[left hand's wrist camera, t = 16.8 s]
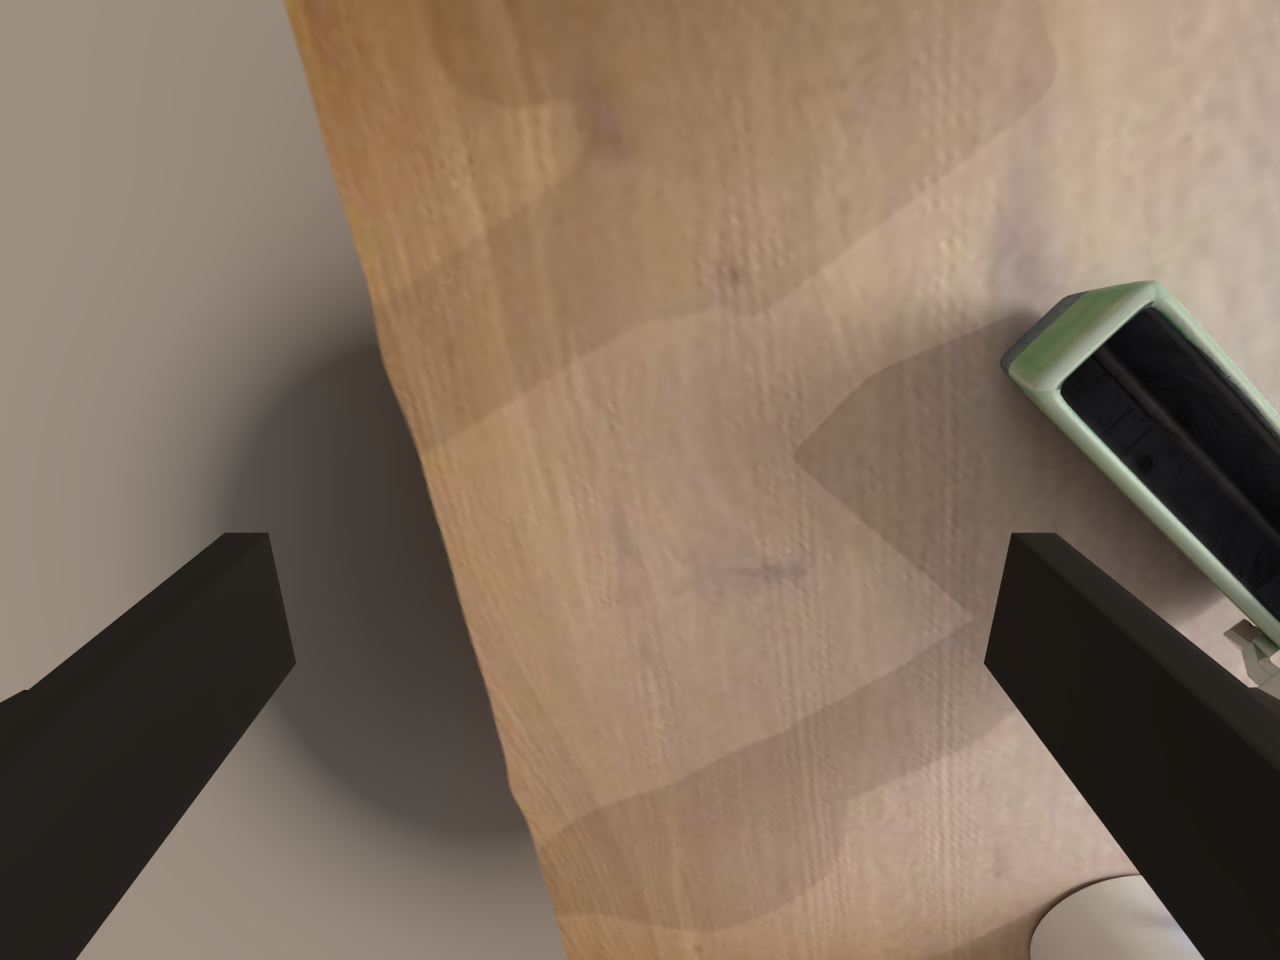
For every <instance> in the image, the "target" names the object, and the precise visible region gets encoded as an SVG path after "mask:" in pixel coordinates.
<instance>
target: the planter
mask: <svg viewBox="0 0 1280 960" xmlns="http://www.w3.org/2000/svg"><path fill="white" fill-rule="evenodd" d="M1000 366H1001V367H1002V369H1003V370H1004V372H1005V373H1006V374H1007V375H1008V377H1009V378H1010V379H1011V380H1012V381H1013V382H1014V383H1015V384H1016V385H1017V386H1018V387H1019V389H1020V390H1021V391H1022V392H1023V393H1024V394H1025V395H1026V396H1027V397H1028V398H1029V399H1030V400H1031V401H1032V402H1033V403H1034V404H1035V405H1036V406H1037V407H1038V408H1039V409H1040V410H1041V411H1042V412H1043V413H1044V414H1045V415H1046V416H1047V417H1048V418H1049V419H1050V420H1051V421H1052V422H1053V423H1054V424H1055V425H1056V426H1057V427H1058V428H1059V429H1060V430H1061V431H1062V432H1063V433H1064V434H1065V435H1066V436H1067V437H1068V438H1069V439H1070V440H1071V441H1072V442H1073V443H1074V444H1075V445H1076V446H1077V447H1078V448H1079V449H1080V450H1081V451H1082V452H1083V453H1084V454H1085V455H1086V456H1087V457H1088V459H1089V460H1090V461H1091V462H1092V463H1093V464H1094V465H1095V466H1096V467H1097V468H1098V469H1099V470H1100V471H1101V472H1102V473H1103V474H1104V475H1105V476H1106V477H1107V478H1108V479H1109V480H1110V481H1111V482H1112V483H1113V484H1114V485H1115V486H1116V487H1117V488H1118V489H1119V490H1120V491H1121V492H1122V493H1123V494H1124V495H1125V496H1126V497H1127V498H1128V499H1129V500H1130V501H1131V502H1132V503H1133V504H1134V505H1135V506H1136V507H1137V508H1138V509H1139V510H1140V511H1141V512H1142V513H1143V514H1144V515H1145V516H1146V517H1147V518H1148V519H1149V520H1150V521H1151V522H1152V523H1153V524H1154V525H1155V526H1156V527H1157V528H1158V529H1159V530H1160V531H1161V532H1162V533H1163V534H1164V535H1165V536H1166V537H1167V538H1168V539H1169V540H1170V541H1171V542H1172V543H1173V544H1174V545H1175V546H1176V547H1177V548H1178V549H1179V550H1180V551H1181V552H1182V553H1183V554H1184V555H1185V556H1186V557H1187V558H1188V559H1189V560H1190V561H1191V562H1192V563H1193V564H1194V565H1195V566H1196V567H1197V568H1198V569H1199V570H1200V571H1201V572H1202V573H1203V574H1204V575H1205V576H1206V577H1207V578H1208V579H1209V580H1210V581H1211V582H1212V583H1213V584H1214V585H1215V586H1216V587H1217V588H1218V589H1219V590H1220V591H1221V592H1222V593H1223V594H1224V595H1226V596H1227V597H1228V598H1229V599H1230V600H1231V601H1232V602H1233V603H1234V604H1235V605H1236V606H1237V607H1238V608H1239V609H1240V610H1241V611H1242V612H1243V613H1244V614H1245V615H1246V616H1247V617H1248V618H1249V619H1250V620H1251V621H1252V622H1253V623H1254V624H1255V625H1256V626H1257V627H1258V628H1259V629H1260V630H1261V631H1262V632H1263V633H1265V634H1266V635H1267V636H1268V637H1269V638H1270V639H1271V640H1272V641H1273V642H1274V643H1275V644H1276V645H1277V646H1278V647H1279V648H1280V415H1279V414H1278V413H1277V411H1276V410H1275V409H1274V408H1273V407H1272V406H1271V405H1270V403H1269V402H1268V401H1267V400H1266V399H1265V398H1264V397H1263V395H1262V394H1261V393H1260V392H1259V391H1258V390H1257V389H1256V387H1255V386H1254V385H1253V384H1252V383H1251V382H1250V381H1249V379H1248V378H1247V377H1246V376H1245V375H1244V374H1243V373H1242V371H1241V370H1240V369H1239V368H1238V367H1237V366H1236V365H1235V364H1234V362H1233V361H1232V360H1231V359H1230V358H1229V357H1228V356H1227V354H1226V353H1225V352H1224V351H1223V350H1222V349H1221V348H1220V346H1219V345H1218V344H1217V343H1216V342H1215V341H1214V340H1213V338H1212V337H1211V336H1210V335H1209V334H1208V333H1207V332H1206V331H1205V329H1204V328H1203V327H1202V326H1201V325H1200V324H1199V323H1198V322H1197V320H1196V319H1195V318H1194V317H1193V316H1192V315H1191V314H1190V313H1189V311H1188V310H1187V309H1186V308H1185V307H1184V306H1183V305H1182V304H1181V303H1180V302H1179V301H1178V300H1177V298H1176V297H1175V296H1174V295H1173V294H1172V293H1171V292H1170V291H1169V290H1168V289H1167V288H1166V287H1164V286H1163V285H1162V284H1160V283H1159V282H1157V281H1138V282H1132V283H1126V284H1120V285H1115V286H1110V287H1105V288H1100V289H1095V290H1090V291H1086V292H1081V293H1077V294H1073V295H1069V296H1067V297H1065V298H1063V299H1062V300H1061V301H1059V302H1058V303H1057V304H1056V305H1055V306H1054V307H1053V308H1052V309H1051V310H1050V311H1049V312H1048V313H1047V314H1046V315H1044V316H1043V317H1042V318H1041V319H1040V320H1039V321H1038V322H1037V323H1036V324H1035V325H1034V326H1033V327H1032V328H1031V329H1030V330H1029V331H1028V332H1027V333H1026V334H1025V335H1023V336H1022V337H1021V338H1020V339H1019V340H1018V341H1017V342H1016V343H1015V344H1014V345H1013V346H1012V347H1011V348H1010V349H1009V350H1008V351H1007V352H1006V353H1005V354H1004V355H1003V356H1002V358H1001V360H1000Z"/></svg>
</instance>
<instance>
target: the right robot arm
mask: <svg viewBox="0 0 1280 960" xmlns="http://www.w3.org/2000/svg"><path fill="white" fill-rule="evenodd" d="M1223 635H1224V636H1225V637H1226V638H1227V639H1228V640H1229V641H1230V642H1231V643H1232V644H1234V645H1235V646H1236V647H1237V648H1238V649H1239V650H1240V651H1242V655H1243V659H1244V662H1245V666H1246V670H1247V674H1248V677H1249V678H1250V679H1251V680H1253V681H1254V682H1255V683H1256V684H1257V685H1258V687H1257V688H1259V689H1261V690H1262V691H1264V692H1266V693H1268V694H1270V695H1272V696H1274V697H1276V698H1278V699H1280V668H1278V667H1277V666H1276V665H1274V664H1273V663H1271V661H1270V658H1269V657H1271V656H1272V655H1273V654H1275V653H1276V652H1277V651H1279V650H1280V648H1279V647H1278V646H1277V645H1276V644H1275V643H1274V642H1273V641H1271V639H1270V638H1269V637H1268V636H1267V635H1266V634H1265V633H1263V632H1262V631H1261V630H1260V629H1259V628H1257V627H1256V626H1253V625H1252V624H1251V623H1250V622H1248V621H1247V620H1245V619H1243V620H1242V621H1240V622H1239V623H1237V624H1236V625H1235V626H1233V627H1232V628H1230V629H1229V630H1228V631H1226V632H1225V633H1223ZM1030 958H1031V960H1204V959H1203V957H1202V956H1201V955H1200V953H1199V952H1198V951H1197V949H1196V948H1195V946H1194V945H1193V944H1192V942H1191V941H1190V940H1189V938H1188V937H1187V936H1186V934H1185V933H1184V932H1183V930H1182V929H1181V928H1180V926H1179V925H1178V924H1177V922H1176V921H1175V920H1174V918H1173V917H1172V916H1171V914H1170V913H1169V912H1168V910H1167V909H1166V907H1165V906H1164V905H1163V903H1162V902H1161V901H1160V899H1159V898H1158V897H1157V895H1156V894H1155V893H1154V891H1153V890H1152V889H1151V887H1150V886H1149V885H1148V883H1147V882H1146V881H1145V879H1144V878H1143V877H1142V875H1134V876H1125V877H1119V878H1114V879H1110V880H1106V881H1102V882H1099V883H1096V884H1093V885H1091V886H1088V887H1086V888H1084V889H1082V890H1079V891H1078V892H1076V893H1074V894H1072V895H1070V896H1069V897H1067V898H1066V899H1064V900H1063V901H1061V902H1060V903H1059V904H1057V905H1056V906H1055V907H1054V908H1053V909H1052V910H1050V911H1049V912H1048V913H1047V915H1046V916H1045V917H1044V918H1043V919H1042V920H1041V922H1040V923H1039V925H1038V926H1037V928H1036V930H1035V932H1034V934H1033V937H1032V940H1031V944H1030Z"/></svg>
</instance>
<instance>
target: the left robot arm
mask: <svg viewBox="0 0 1280 960" xmlns="http://www.w3.org/2000/svg"><path fill="white" fill-rule="evenodd" d="M295 664H296V660H295V656H294V651H293V646H292V642H291V637H290V632H289V628H288V623H287V618H286V614H285V609H284V604H283V599H282V595H281V590H280V586H279V581H278V576H277V571H276V567H275V562H274V557H273V553H272V548H271V543H270V538H269V534H268V533H224V534H223V535H222V536H220V537H219V538H218V539H217V540H215V541H214V542H213V543H212V544H210V545H209V546H208V547H207V548H205V549H204V550H203V551H202V552H200V553H199V554H198V555H197V556H195V557H194V558H193V559H192V560H190V561H189V562H188V563H187V564H185V565H184V566H183V567H182V568H180V569H179V570H178V571H177V572H175V573H174V574H173V575H172V576H170V577H169V578H168V579H167V580H165V581H164V582H163V583H162V584H160V585H159V586H158V587H157V588H155V589H154V590H153V591H152V592H150V593H149V594H148V595H147V596H145V597H144V598H143V599H142V600H140V601H139V602H138V603H137V604H135V605H134V606H133V607H132V608H130V609H129V610H128V611H127V612H125V613H124V614H123V615H122V616H120V617H119V618H118V619H117V620H115V621H114V622H113V623H112V624H110V625H109V626H108V627H107V628H105V629H104V630H103V631H102V632H100V633H99V634H98V635H97V636H95V637H94V638H93V639H92V640H90V641H89V642H88V643H87V644H85V645H84V646H83V647H82V648H80V649H79V650H78V651H77V652H75V653H74V654H73V655H72V656H70V657H69V658H68V659H67V660H65V661H64V662H63V663H62V664H60V665H59V666H58V667H57V668H55V669H54V670H53V671H52V672H50V673H49V674H48V675H47V676H45V677H44V678H43V679H42V680H40V681H39V682H38V683H37V684H35V685H34V686H33V687H32V688H30V689H29V690H23V691H21V692H19V693H18V694H16V695H14V696H12V697H10V698H8V699H6V700H4V701H2V702H1V703H0V960H76V959H77V957H78V956H79V955H80V953H81V952H82V951H83V949H84V948H85V946H86V945H87V944H88V942H89V941H90V940H91V938H92V937H93V936H94V934H95V933H96V932H97V930H98V929H99V928H100V926H101V925H102V924H103V922H104V921H105V919H106V918H107V917H108V915H109V914H110V913H111V912H112V910H113V909H114V907H115V906H116V905H117V903H118V902H119V901H120V899H121V898H122V897H123V895H124V894H125V893H126V891H127V890H128V889H129V887H130V886H131V885H132V883H133V882H134V881H135V879H136V878H137V877H138V875H139V874H140V873H141V871H142V870H143V868H144V867H145V866H146V864H147V863H148V862H149V860H150V859H151V858H152V856H153V855H154V854H155V852H156V851H157V850H158V848H159V847H160V846H161V844H162V843H163V842H164V840H165V839H166V838H167V836H168V835H169V834H170V832H171V831H172V829H173V828H174V827H175V825H176V824H177V823H178V821H179V820H180V819H181V817H182V816H183V815H184V813H185V812H186V811H187V809H188V808H189V807H190V805H191V804H192V803H193V801H194V800H195V799H196V797H197V796H198V794H199V793H200V792H201V790H202V789H203V788H204V786H205V785H206V784H207V782H208V781H209V780H210V778H211V777H212V776H213V774H214V773H215V772H216V770H217V769H218V768H219V766H220V765H221V764H222V762H223V761H224V760H225V758H226V757H227V756H228V754H229V753H230V751H231V750H232V749H233V747H234V746H235V745H236V743H237V742H238V741H239V739H240V738H241V737H242V735H243V734H244V733H245V731H246V730H247V729H248V727H249V726H250V725H251V723H252V722H253V721H254V719H255V718H256V716H257V715H258V714H259V712H260V711H261V710H262V708H263V707H264V706H265V704H266V703H267V702H268V700H269V699H270V698H271V696H272V695H273V694H274V692H275V691H276V690H277V688H278V687H279V686H280V684H281V683H282V682H283V680H284V679H285V678H286V676H287V675H288V673H289V672H290V671H291V669H292V668H293V667H294V665H295ZM984 664H985V665H986V667H987V668H988V669H989V671H990V672H991V673H992V675H993V676H994V678H995V679H996V680H997V682H998V683H999V684H1000V686H1001V687H1002V688H1003V690H1004V691H1005V692H1006V694H1007V695H1008V696H1009V698H1010V699H1011V700H1012V702H1013V703H1014V704H1015V706H1016V707H1017V708H1018V710H1019V711H1020V712H1021V714H1022V715H1023V717H1024V718H1025V719H1026V721H1027V722H1028V723H1029V725H1030V726H1031V727H1032V729H1033V730H1034V731H1035V733H1036V734H1037V735H1038V737H1039V738H1040V739H1041V741H1042V742H1043V743H1044V745H1045V746H1046V747H1047V749H1048V750H1049V751H1050V753H1051V754H1052V756H1053V757H1054V758H1055V760H1056V761H1057V762H1058V764H1059V765H1060V766H1061V768H1062V769H1063V770H1064V772H1065V773H1066V774H1067V776H1068V777H1069V778H1070V780H1071V781H1072V782H1073V784H1074V785H1075V786H1076V788H1077V789H1078V790H1079V792H1080V793H1081V795H1082V796H1083V797H1084V799H1085V800H1086V801H1087V803H1088V804H1089V805H1090V807H1091V808H1092V809H1093V811H1094V812H1095V813H1096V815H1097V816H1098V817H1099V819H1100V820H1101V821H1102V823H1103V824H1104V825H1105V827H1106V828H1107V829H1108V831H1109V832H1110V834H1111V835H1112V836H1113V838H1114V839H1115V840H1116V842H1117V843H1118V844H1119V846H1120V847H1121V848H1122V850H1123V851H1124V852H1125V854H1126V855H1127V856H1128V858H1129V859H1130V860H1131V862H1132V863H1133V864H1134V866H1135V867H1136V868H1137V870H1138V871H1139V873H1140V874H1141V875H1142V877H1143V878H1144V879H1145V881H1146V882H1147V883H1148V885H1149V886H1150V887H1151V889H1152V890H1153V891H1154V893H1155V894H1156V895H1157V897H1158V898H1159V899H1160V901H1161V902H1162V903H1163V905H1164V906H1165V907H1166V909H1167V910H1168V912H1169V913H1170V914H1171V916H1172V917H1173V918H1174V920H1175V921H1176V922H1177V924H1178V925H1179V926H1180V928H1181V929H1182V930H1183V932H1184V933H1185V934H1186V936H1187V937H1188V938H1189V940H1190V941H1191V942H1192V944H1193V945H1194V946H1195V948H1196V949H1197V951H1198V952H1199V953H1200V955H1201V956H1202V957H1203V959H1204V960H1280V699H1278V698H1276V697H1274V696H1272V695H1270V694H1268V693H1266V692H1264V691H1262V690H1261V689H1259V688H1249V687H1247V686H1246V685H1245V684H1243V683H1242V682H1241V681H1240V680H1238V679H1237V678H1236V677H1235V676H1233V675H1232V674H1231V673H1230V672H1228V671H1227V670H1226V669H1225V668H1223V667H1222V666H1221V665H1220V664H1218V663H1217V662H1216V661H1215V660H1213V659H1212V658H1211V657H1210V656H1208V655H1207V654H1206V653H1205V652H1203V651H1202V650H1201V649H1200V648H1198V647H1197V646H1196V645H1195V644H1193V643H1192V642H1191V641H1190V640H1188V639H1187V638H1186V637H1185V636H1183V635H1182V634H1181V633H1180V632H1178V631H1177V630H1176V629H1175V628H1173V627H1172V626H1171V625H1170V624H1168V623H1167V622H1166V621H1165V620H1163V619H1162V618H1161V617H1160V616H1158V615H1157V614H1156V613H1155V612H1153V611H1152V610H1151V609H1150V608H1148V607H1147V606H1146V605H1145V604H1143V603H1142V602H1141V601H1140V600H1138V599H1137V598H1136V597H1135V596H1133V595H1132V594H1131V593H1130V592H1128V591H1127V590H1126V589H1125V588H1123V587H1122V586H1121V585H1120V584H1118V583H1117V582H1116V581H1115V580H1113V579H1112V578H1111V577H1110V576H1108V575H1107V574H1106V573H1105V572H1103V571H1102V570H1101V569H1100V568H1098V567H1097V566H1096V565H1095V564H1093V563H1092V562H1091V561H1090V560H1088V559H1087V558H1086V557H1085V556H1083V555H1082V554H1081V553H1080V552H1078V551H1077V550H1076V549H1075V548H1073V547H1072V546H1071V545H1070V544H1068V543H1067V542H1066V541H1065V540H1063V539H1062V538H1061V537H1060V536H1058V535H1057V534H1056V533H1012V534H1011V538H1010V543H1009V548H1008V553H1007V557H1006V562H1005V567H1004V571H1003V576H1002V581H1001V585H1000V590H999V595H998V599H997V604H996V609H995V613H994V618H993V623H992V628H991V632H990V637H989V642H988V646H987V651H986V656H985V660H984Z"/></svg>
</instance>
